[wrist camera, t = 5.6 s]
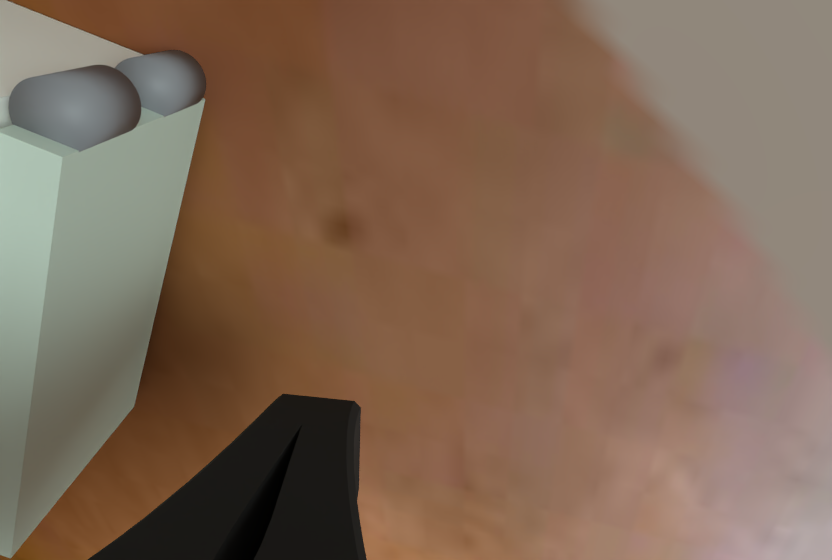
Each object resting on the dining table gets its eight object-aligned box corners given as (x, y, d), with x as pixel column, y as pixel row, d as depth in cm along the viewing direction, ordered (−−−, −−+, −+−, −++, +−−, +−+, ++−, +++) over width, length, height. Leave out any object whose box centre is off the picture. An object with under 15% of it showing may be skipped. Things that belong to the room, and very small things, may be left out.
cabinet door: (218, 61, 13) (77, 101, 8) (137, 407, 17) (15, 559, 13) (165, 39, 13) (-8, 65, 8) (97, 393, 17) (-41, 541, 13)
